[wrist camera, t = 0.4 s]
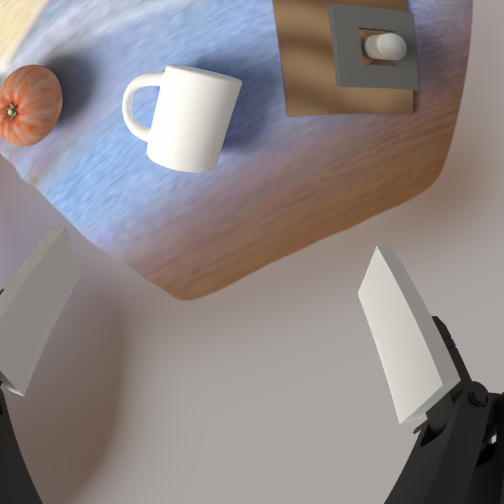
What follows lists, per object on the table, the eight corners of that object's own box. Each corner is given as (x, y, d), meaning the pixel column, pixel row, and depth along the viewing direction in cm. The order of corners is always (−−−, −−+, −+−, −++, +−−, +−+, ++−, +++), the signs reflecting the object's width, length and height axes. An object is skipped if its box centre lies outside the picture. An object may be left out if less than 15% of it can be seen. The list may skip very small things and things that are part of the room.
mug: (243, 79, 30) (242, 83, 23) (219, 155, 35) (212, 180, 29) (144, 58, 28) (118, 59, 21) (128, 134, 33) (101, 154, 27)
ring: (327, 6, 19) (331, 4, 18) (405, 14, 18) (412, 13, 17) (336, 86, 23) (340, 87, 22) (411, 88, 23) (418, 90, 22)
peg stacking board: (270, -11, 23) (281, -45, 13) (400, -3, 22) (457, -16, 12) (287, 115, 32) (306, 140, 22) (408, 112, 31) (464, 139, 21)
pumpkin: (56, 148, 33) (24, 170, 27) (9, 118, 29) (-26, 135, 23) (87, 79, 28) (52, 88, 22) (34, 51, 24) (-4, 57, 18)
